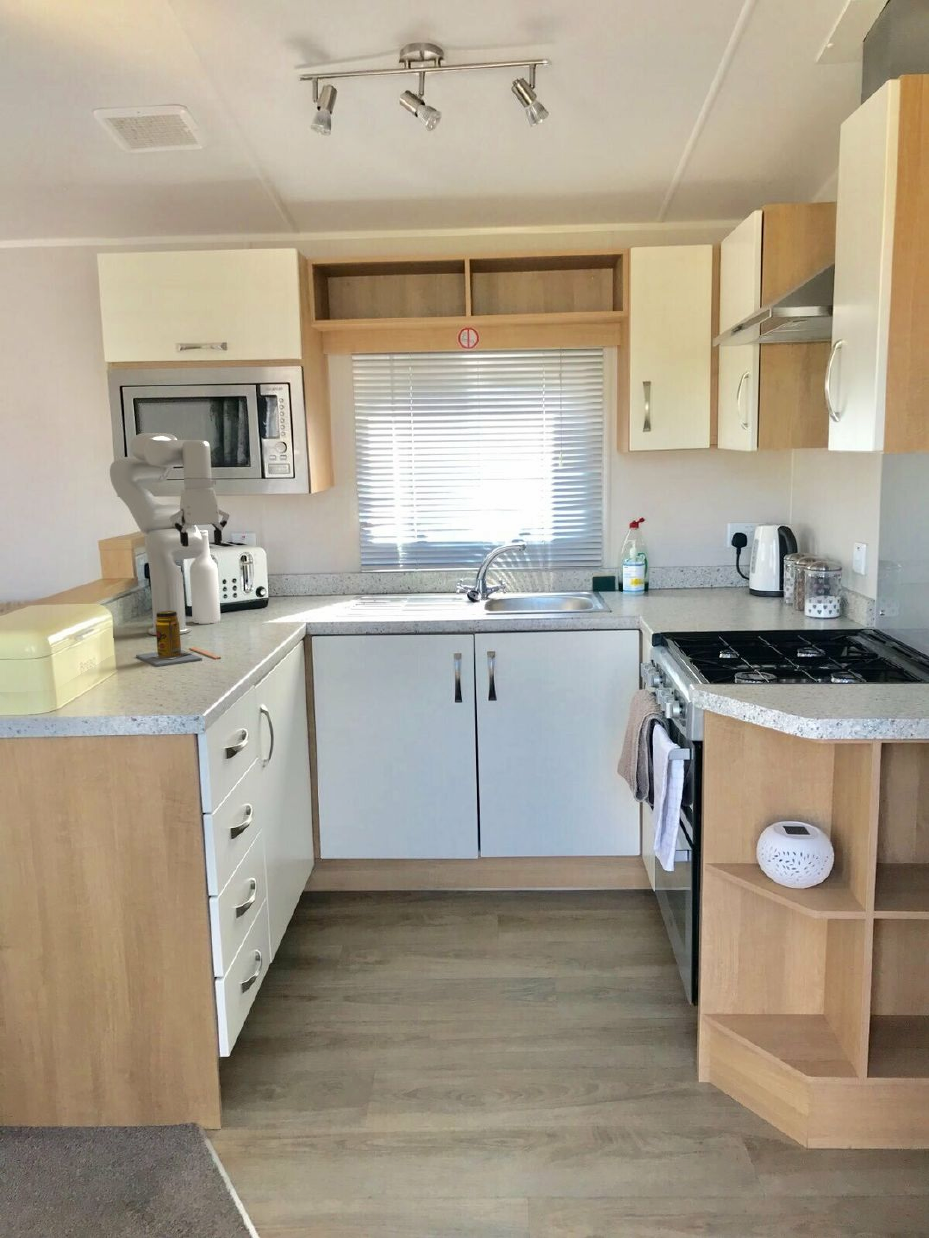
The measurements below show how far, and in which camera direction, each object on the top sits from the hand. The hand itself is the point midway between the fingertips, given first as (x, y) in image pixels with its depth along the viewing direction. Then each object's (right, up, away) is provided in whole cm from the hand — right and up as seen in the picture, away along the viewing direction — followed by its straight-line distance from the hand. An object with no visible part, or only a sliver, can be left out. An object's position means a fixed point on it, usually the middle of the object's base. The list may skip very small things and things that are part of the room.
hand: (201, 545), depth 273 cm
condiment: (-3, -31, -17) cm, 35 cm away
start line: (+4, -31, -11) cm, 33 cm away
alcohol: (-9, -22, +40) cm, 47 cm away
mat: (-4, -32, -17) cm, 36 cm away
